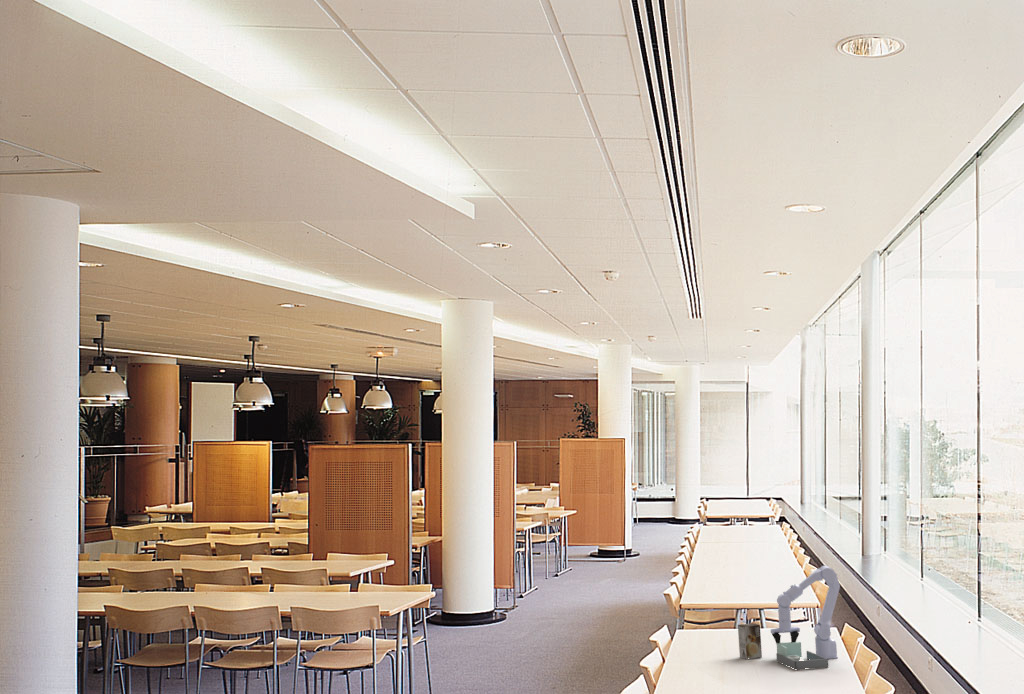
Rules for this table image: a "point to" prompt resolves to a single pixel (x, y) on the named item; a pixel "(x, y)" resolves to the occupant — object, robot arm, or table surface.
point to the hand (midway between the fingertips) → (786, 647)
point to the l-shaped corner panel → (790, 650)
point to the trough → (814, 661)
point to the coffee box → (749, 640)
